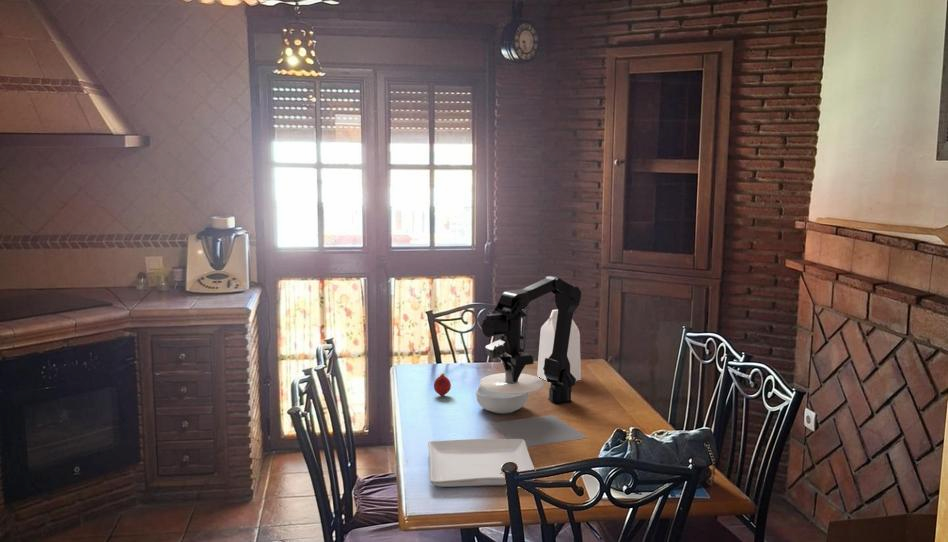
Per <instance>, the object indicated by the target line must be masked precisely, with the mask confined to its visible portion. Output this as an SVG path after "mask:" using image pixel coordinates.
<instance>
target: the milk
mask: <svg viewBox="0 0 948 542" xmlns="http://www.w3.org/2000/svg"><path fill="white" fill-rule="evenodd" d="M557 316H558V309H552V310H551V313H550V315H549V318H547V320H546V321H545V322H544V323H543V324H542V325H541V326H540V333H539V346H538V361H537V372H536V373H537V374H536V377H537V376H538V378H539V377H540V378H542V379H544V380H546V381H547V379H546V376H545V375H544V370H543V368H544V364H545V358H549V357H550V355H551V354H552V351H553V344H554V337H555V330H556V323H557ZM567 357H568V360H569V362H570V373H571V374H572V375H573V376H574V377H575V378H576V381H577V380H581V381H582V376H581V375H582V372H581V370H582V366H581V365H582V363H581V334H580V330H579V327H578V326H577V324H576V322H575V321H574V319H573V318H572V324H571V331H570V338H569V345H568V352H567ZM544 380H543V381H544ZM546 381H545V382H546ZM549 383H550V382H549ZM549 383H548V384H549Z"/></svg>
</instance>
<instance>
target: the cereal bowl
mask: <svg viewBox="0 0 948 542" xmlns="http://www.w3.org/2000/svg"><path fill="white" fill-rule="evenodd" d="M475 394H476V401H477V403H478V404H479V405H480V407H482V408H483V409H484V410H486V411H489V412H492V413H496V414H511V413H513V412H515V411H518V410H520V409H522V408H523V407H524V406H525V405H526V404H527V401H528V397H529V393H524V394H501V393H495V392H491V391H488V390H485V389H483V388H482V387H481V386H478V387H477V389H476V392H475Z"/></svg>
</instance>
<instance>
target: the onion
mask: <svg viewBox="0 0 948 542" xmlns="http://www.w3.org/2000/svg"><path fill="white" fill-rule="evenodd" d="M451 387H452V384H451V381H450V379H449V378H448V377H447V376H445V374H444V372H442V373H440V375H439V376H438V377H437V378H436V379H435V380H434V383H433V389H434V391H435V392H436V393H437V395H439V396H440V397H444V396H445V395H447V394H448V393H449V391H450V390H451Z"/></svg>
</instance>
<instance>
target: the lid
mask: <svg viewBox="0 0 948 542" xmlns="http://www.w3.org/2000/svg"><path fill="white" fill-rule="evenodd" d="M479 385H480V386H481V387H482V388H483V389H485V390H488V391H491V392H495V393H501V394H524V393H528V394H530V393H534V392H537V391H540V390H542V389H543V387H544V380H542V379H540V378H539V377H537V375H533V374H527V373H522V372H521V374H520V376H519V378H518V380H517V382H513V378H512V369H510V370H506V371H505V370H504V372H501V373H492V374H489V375H487V376H484V377H482V378H481V379H480V380H479ZM480 386H479V387H480Z"/></svg>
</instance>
